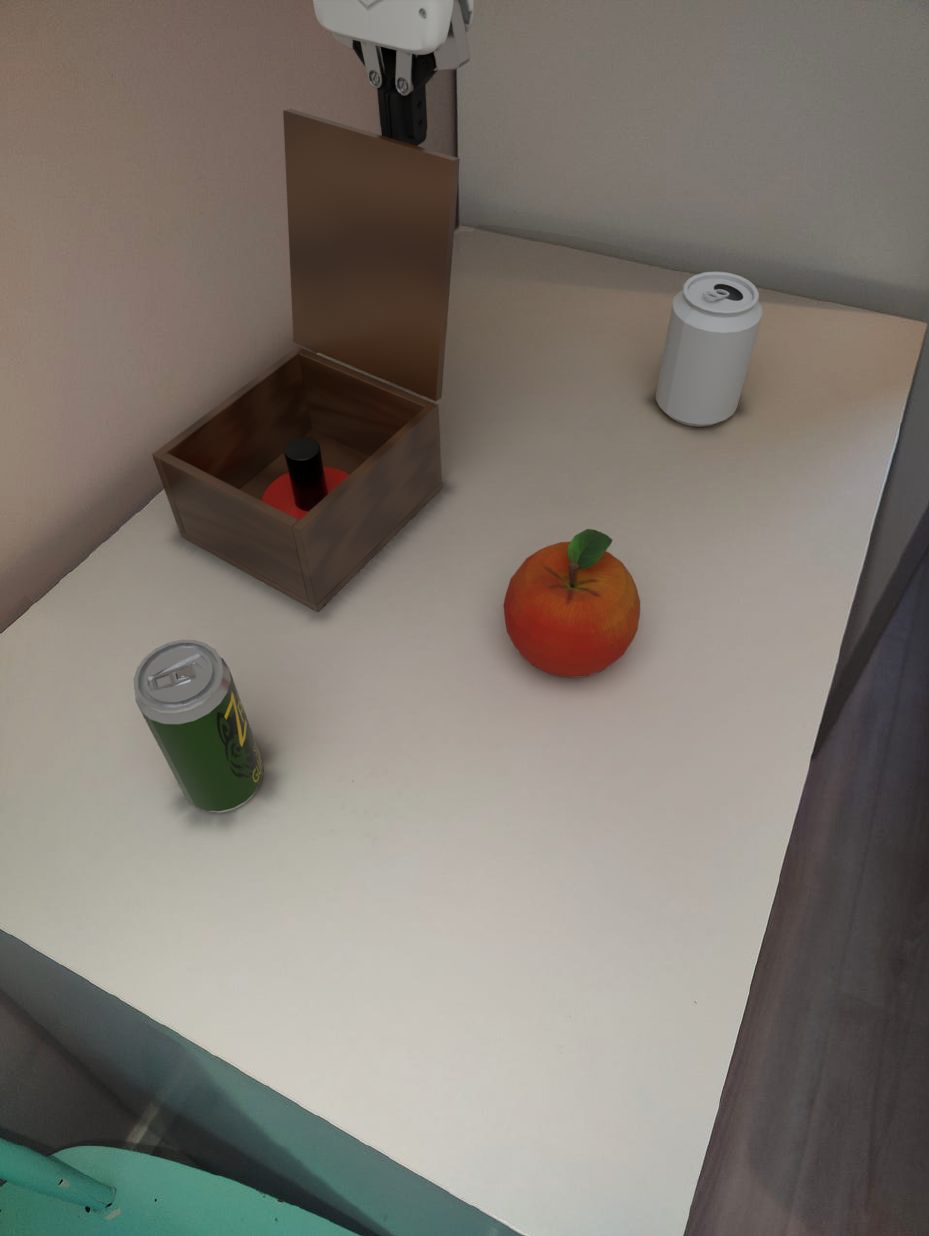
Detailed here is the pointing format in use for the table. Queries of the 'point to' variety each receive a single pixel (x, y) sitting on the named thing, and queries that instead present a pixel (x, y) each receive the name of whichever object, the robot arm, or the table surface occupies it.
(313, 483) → the pot lid
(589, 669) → the fruit
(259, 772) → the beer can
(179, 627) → the table surface
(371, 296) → the chest lid
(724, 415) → the can
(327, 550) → the chest
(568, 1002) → the table surface
